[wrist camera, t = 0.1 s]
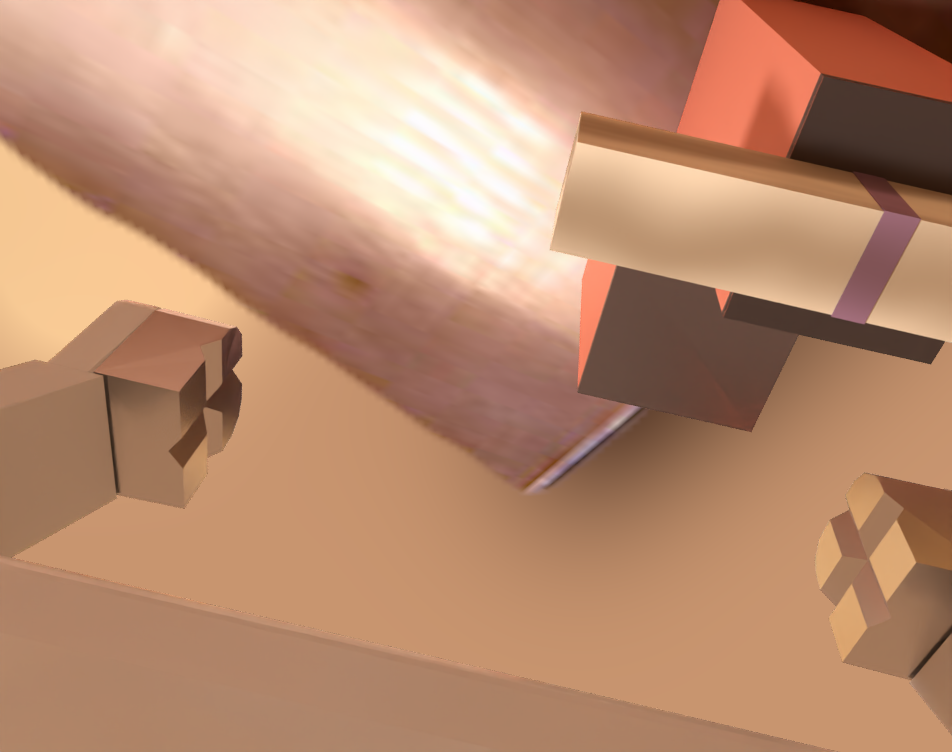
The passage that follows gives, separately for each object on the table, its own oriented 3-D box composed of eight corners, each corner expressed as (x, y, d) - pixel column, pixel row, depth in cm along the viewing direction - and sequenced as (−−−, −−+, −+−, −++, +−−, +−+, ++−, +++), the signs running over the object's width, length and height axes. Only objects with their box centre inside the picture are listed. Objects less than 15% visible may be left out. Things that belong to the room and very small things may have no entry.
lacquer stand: (670, -27, 49) (727, 54, 27) (864, 15, 49) (1074, 131, 27) (582, 279, 61) (573, 502, 40) (736, 314, 61) (812, 556, 39)
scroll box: (581, 109, 29) (577, 140, 26) (1028, 210, 29) (1083, 255, 25) (556, 210, 31) (549, 251, 28) (968, 305, 31) (1013, 358, 28)
